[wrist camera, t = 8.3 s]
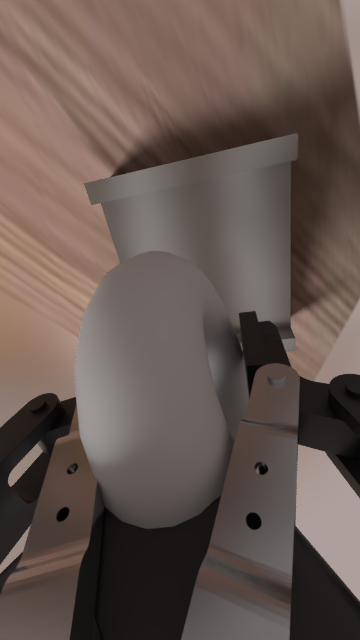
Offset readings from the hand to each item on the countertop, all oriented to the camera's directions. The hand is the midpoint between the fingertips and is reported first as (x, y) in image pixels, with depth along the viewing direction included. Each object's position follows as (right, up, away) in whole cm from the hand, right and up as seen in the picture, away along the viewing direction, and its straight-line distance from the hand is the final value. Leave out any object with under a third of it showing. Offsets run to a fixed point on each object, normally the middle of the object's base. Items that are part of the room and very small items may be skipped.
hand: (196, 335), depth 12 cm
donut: (0, +1, +2) cm, 2 cm away
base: (+1, +6, +10) cm, 11 cm away
